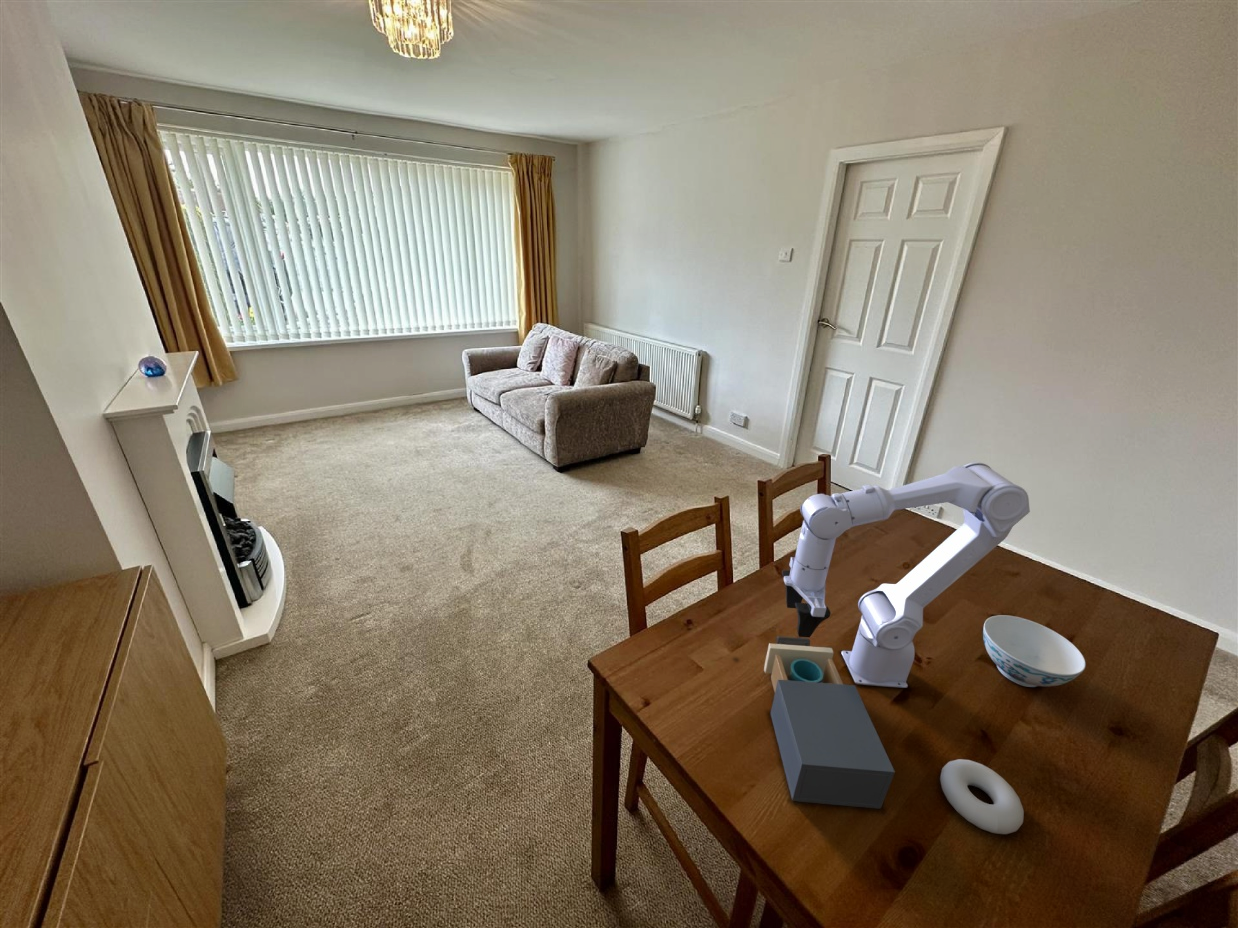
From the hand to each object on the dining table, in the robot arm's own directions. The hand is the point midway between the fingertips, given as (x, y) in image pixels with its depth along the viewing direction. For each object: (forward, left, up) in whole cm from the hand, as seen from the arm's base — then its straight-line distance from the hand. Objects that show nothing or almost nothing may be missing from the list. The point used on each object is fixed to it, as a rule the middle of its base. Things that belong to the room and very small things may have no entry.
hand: (797, 620), depth 90 cm
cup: (0, +8, -8) cm, 12 cm away
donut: (-21, +24, -11) cm, 34 cm away
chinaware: (-44, -2, -11) cm, 45 cm away
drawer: (0, +8, -9) cm, 12 cm away
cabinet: (0, +19, -10) cm, 22 cm away
